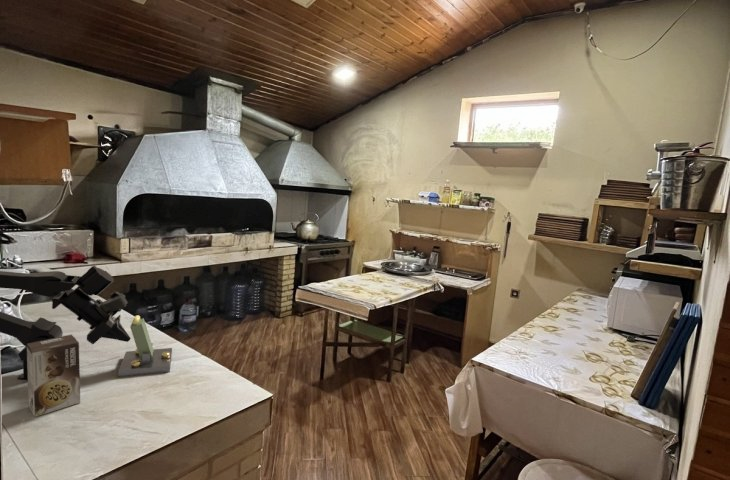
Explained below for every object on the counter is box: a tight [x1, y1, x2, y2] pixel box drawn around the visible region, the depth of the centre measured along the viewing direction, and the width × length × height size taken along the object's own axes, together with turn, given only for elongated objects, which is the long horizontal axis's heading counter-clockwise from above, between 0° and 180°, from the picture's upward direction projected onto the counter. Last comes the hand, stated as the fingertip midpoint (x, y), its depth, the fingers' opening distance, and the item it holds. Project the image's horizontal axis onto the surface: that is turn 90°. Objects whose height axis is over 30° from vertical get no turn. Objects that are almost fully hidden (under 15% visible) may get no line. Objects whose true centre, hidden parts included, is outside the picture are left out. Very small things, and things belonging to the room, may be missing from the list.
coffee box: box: [27, 334, 81, 418], centre depth 94 cm, size 9×6×16 cm
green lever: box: [130, 315, 154, 360], centre depth 116 cm, size 3×5×13 cm, turn 23°
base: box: [118, 342, 173, 378], centre depth 118 cm, size 13×13×5 cm
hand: (129, 340), depth 115 cm, fingers closed
